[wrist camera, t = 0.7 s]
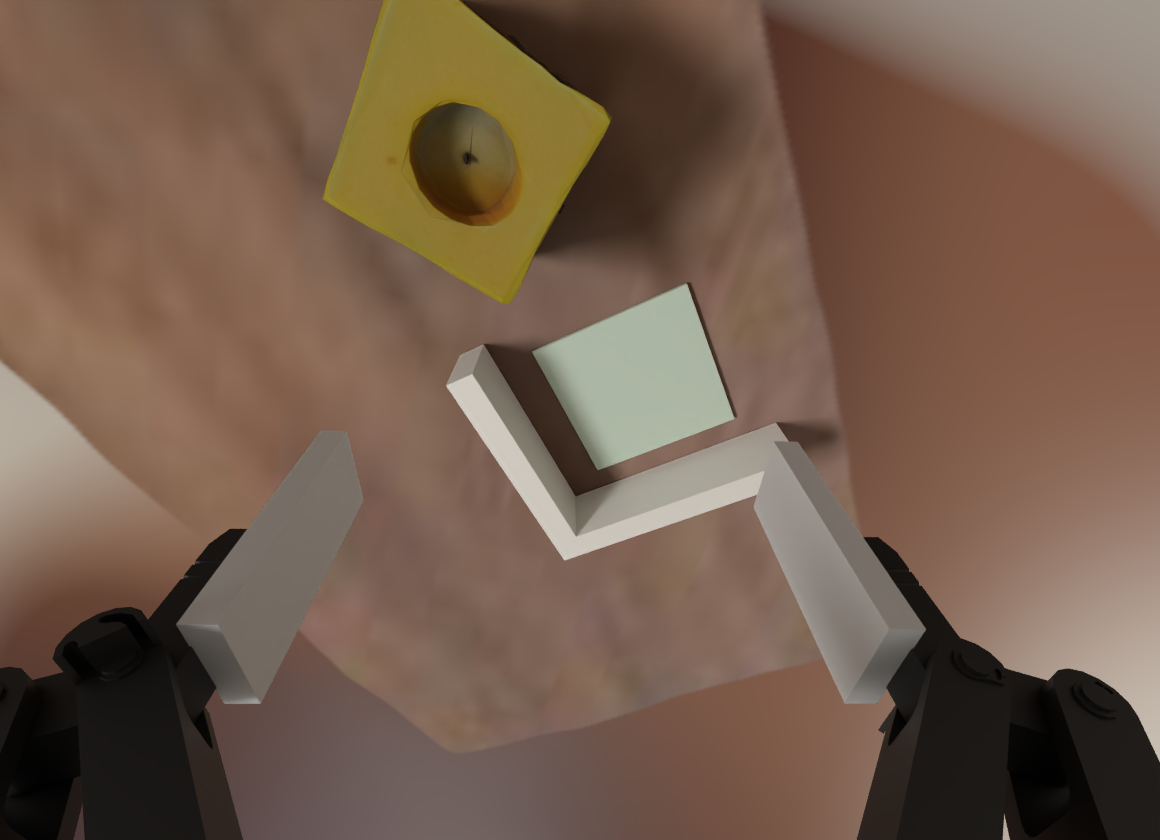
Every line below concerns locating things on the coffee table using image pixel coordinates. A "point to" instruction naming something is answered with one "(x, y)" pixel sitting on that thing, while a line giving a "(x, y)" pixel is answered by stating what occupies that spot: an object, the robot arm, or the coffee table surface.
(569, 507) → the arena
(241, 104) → the coffee table surface
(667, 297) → the pad
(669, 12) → the coffee table surface
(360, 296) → the coffee table surface
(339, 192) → the candle
